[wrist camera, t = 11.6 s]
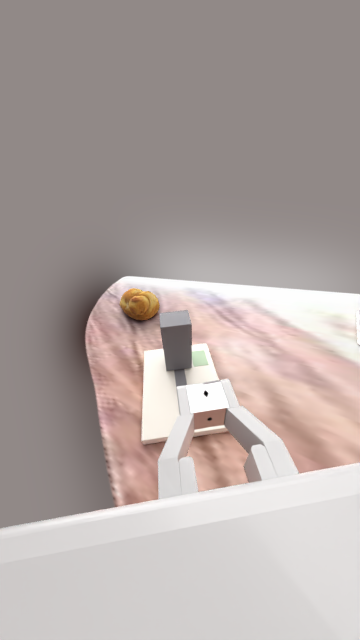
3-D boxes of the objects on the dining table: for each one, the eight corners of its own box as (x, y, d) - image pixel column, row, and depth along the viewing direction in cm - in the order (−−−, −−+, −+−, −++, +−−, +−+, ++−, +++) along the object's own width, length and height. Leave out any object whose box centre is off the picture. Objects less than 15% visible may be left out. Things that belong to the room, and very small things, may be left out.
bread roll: (114, 311, 58) (107, 287, 53) (140, 298, 63) (135, 276, 58) (140, 328, 51) (134, 303, 46) (166, 312, 56) (164, 288, 51)
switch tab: (165, 355, 40) (159, 313, 33) (188, 352, 40) (187, 310, 33) (166, 371, 37) (160, 327, 30) (191, 367, 37) (191, 324, 30)
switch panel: (145, 355, 43) (144, 350, 42) (206, 348, 44) (206, 343, 43) (143, 444, 28) (141, 440, 28) (233, 430, 29) (234, 425, 29)
